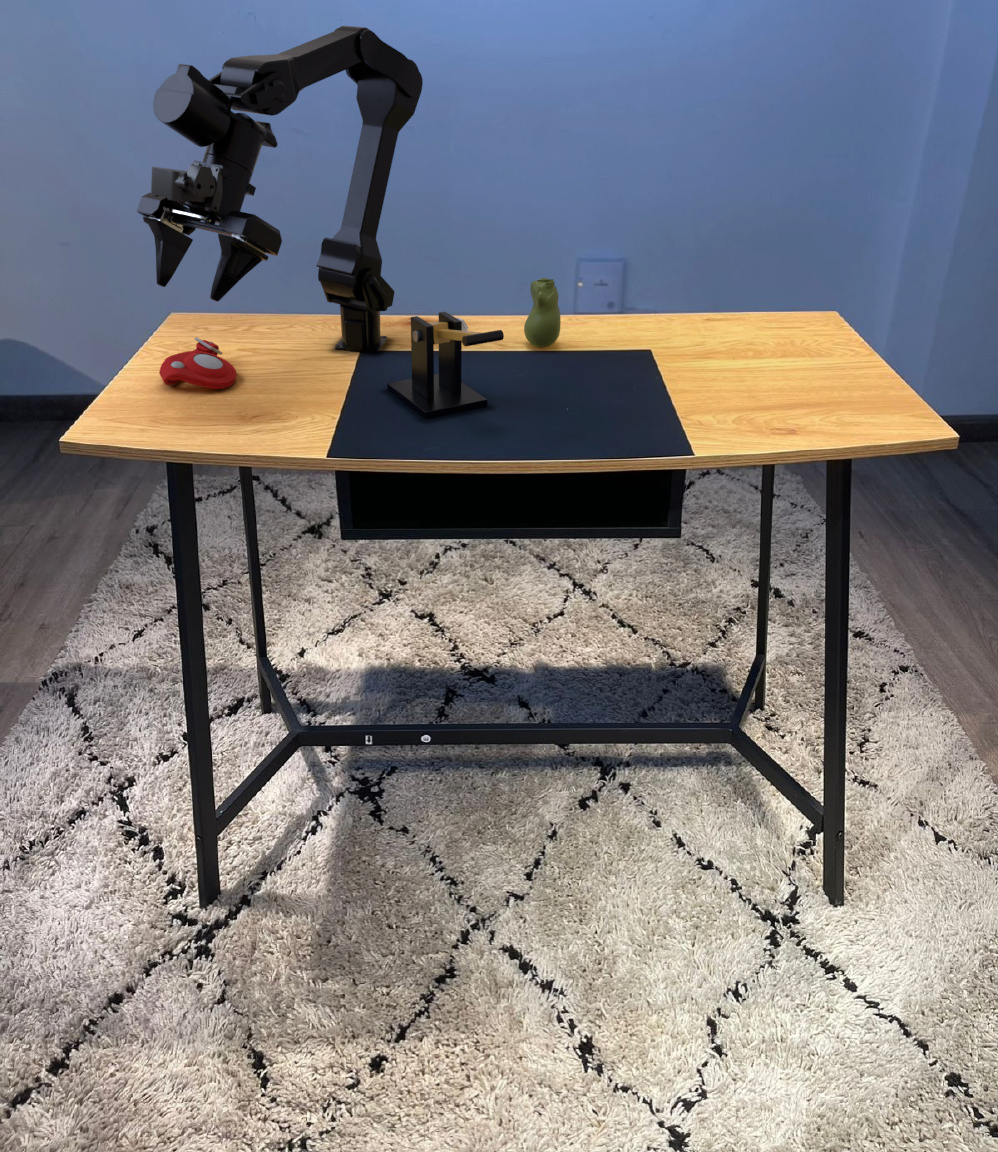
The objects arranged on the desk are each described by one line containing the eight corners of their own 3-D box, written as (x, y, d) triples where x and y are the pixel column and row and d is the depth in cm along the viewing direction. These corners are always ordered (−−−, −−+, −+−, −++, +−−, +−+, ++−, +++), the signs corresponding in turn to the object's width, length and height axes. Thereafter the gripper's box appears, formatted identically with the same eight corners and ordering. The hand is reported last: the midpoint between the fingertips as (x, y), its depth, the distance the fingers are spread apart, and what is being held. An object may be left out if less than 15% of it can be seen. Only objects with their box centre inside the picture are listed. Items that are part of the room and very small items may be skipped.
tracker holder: (250, 377, 135) (175, 373, 129) (242, 406, 138) (169, 403, 132) (220, 331, 142) (148, 325, 137) (213, 358, 145) (143, 354, 139)
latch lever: (504, 345, 120) (502, 324, 119) (468, 352, 118) (465, 330, 117) (449, 338, 132) (447, 320, 131) (414, 344, 130) (412, 325, 129)
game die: (439, 338, 154) (439, 318, 153) (459, 333, 156) (459, 314, 155) (452, 344, 152) (452, 325, 150) (472, 340, 154) (472, 320, 152)
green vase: (563, 351, 151) (567, 283, 146) (528, 353, 150) (531, 285, 145) (553, 338, 156) (556, 273, 150) (519, 340, 154) (522, 274, 149)
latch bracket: (487, 408, 132) (489, 326, 126) (425, 421, 128) (424, 337, 122) (446, 380, 140) (446, 302, 134) (387, 391, 136) (384, 311, 130)
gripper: (122, 123, 117) (81, 253, 118) (238, 142, 109) (192, 282, 109) (192, 167, 127) (153, 287, 128) (303, 188, 118) (260, 317, 119)
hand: (186, 292), depth 121 cm, fingers open, 9 cm apart
